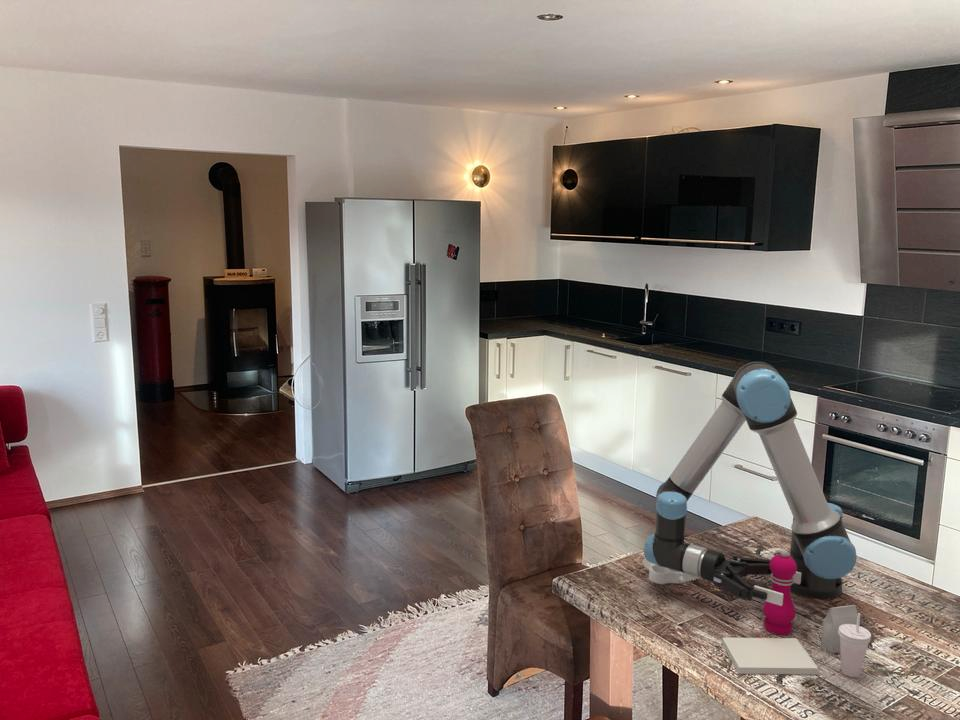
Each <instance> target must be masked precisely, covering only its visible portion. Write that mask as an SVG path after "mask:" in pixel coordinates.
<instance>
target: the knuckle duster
mask: <svg viewBox="0 0 960 720" xmlns="http://www.w3.org/2000/svg"><path fill="white" fill-rule="evenodd" d="M642 565H643V567H644V568H645V569H646V570H648V574H649V575H648V579H649V580H650V581H651V582H652V583H655V584H658V585H665V584H685V583H686V581H687V582H695V581H696V579H697V580H699V579H702V577H700V578H699V577H696V576H694V577H692V576H691V575H689V574H686V573H682V572H680V571H676V570H673V569H669V568H665V567H660V566H658V565H656V564H653V563H651V562H649V561H647V560H646V558H645V557H644V558H643V559H642ZM691 580H693V581H691ZM694 580H695V581H694Z"/></svg>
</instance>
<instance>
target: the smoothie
mask: <svg viewBox="0 0 960 720" xmlns="http://www.w3.org/2000/svg"><path fill="white" fill-rule="evenodd" d="M860 623H861V613H860V612H857V625H854V624H843V625H841V626H840V627H839V630H838V633H839V635H840V652H839V654H840V671H841V673H842V674H844V675H845V676H847V677H849V678H858V677H860V676H861V673H862V669H863V664H864V661H865V657H866V654H867V650H868V645H869V643H870V642H871V641H872V633H871V632H870V631H869V630H868V629H867V628H865V627H863V626H859V625H860Z"/></svg>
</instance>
